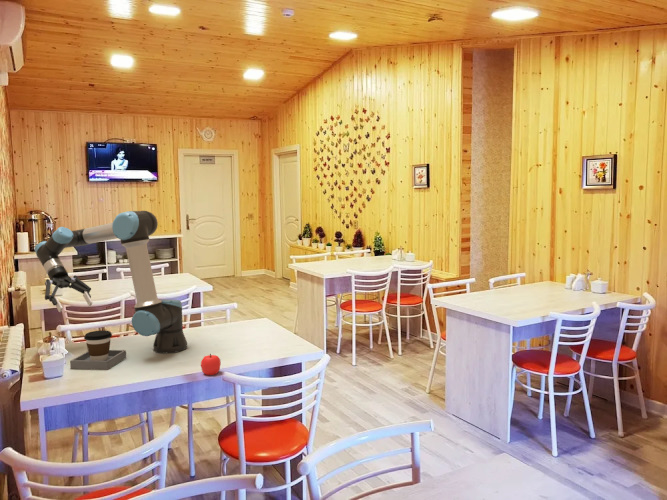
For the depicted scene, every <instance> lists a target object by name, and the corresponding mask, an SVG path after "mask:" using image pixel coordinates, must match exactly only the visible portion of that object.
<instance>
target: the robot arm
mask: <svg viewBox="0 0 667 500" xmlns="http://www.w3.org/2000/svg"><path fill="white" fill-rule="evenodd" d="M158 224H159V223H158V218H157V217H156V215H154V213H152V212H151V211H148V210H133V211H132V210H131V211H130V210H129V211H124V212H120V213H118V214H117V215H116V216H115V217H114V219H113V222H109V223H105V224H101V225H96V226H91V227H87V228H81V229H75V230H71V229H69V228H68V227H65V226H59V227H58V228H57V229H56V230H55V231H54V232H53V233H52V234H51V236H50V237H49V238H48V239H47V240H43V241H40V242H39V243H37V244H36V245H35V247H34V252H35V254H36V257H37V259H38V260H39V261H40V264H41V265H42V268H43V270H44V271H45V272H46V275H47V276H48V278H49V279H48V278H47V279H46V280H45V281H44V284H45V291H44V293H45V294H44V300H46V301H49V302H51V303H52V305H53V307H54V306H55V307H56V309H57V311H58V312H59V313H62V310H63V309H64V307H63V306H62V303H61V302H60V299H59V297H58V296H55V295H56V293H57V291H58V290H59V289H64V288H69V289H73V290H74V291H77V292H79V293H81V294H82V297H83V298H84V300H85V302H86V303H87V306H89V307H91V306H92V304H93V303H94V302H93V300H92V299H91V298H92V296H91V294H90V292H91V290H92V288H91V287H90V286H89V285H88V284H86V283H85V282H84V281H83V280H81V279H80V278H78V276H77V275H73V276H69V272H68V271H67V269H66V267H65V265H64V263H63V262H62V261H61V259H60V257H59V255H60V254H61V253H62V252H63V250H64V249H67V248H74V247H81V246H87V245H91V244H95V243H101V242H105V241H110V240H115V239H119V241H120V245H121V246H122V247H124V248H125V250H126V255H127V261H128V264H129V269H130V274H131V279H132V284H133V285H132V286H133V289H134V293H135V299H136V304H135V305H133V307H134V314H133V316H132V317H131V326H132V328H133V330H134V331H135V333H137V334H138V335H140V336H143V337H151V336H154V335H155V338H154V341H153V345H152V347H153V352H155V353H158V354H172V353H179V352H183V351H185V350H186V349H188V341H187V339H186V336H185V334H184V331H183V330H184V326H183V325H184V324H183V307H182V301H181V300H180V299H166V298H165V299H160V298H158V295H157V290H156V284H155V279H154V273H153V269H152V265H151V259H150V255H149V251H148V245H147V244H148V243H149V241H150V237H149V236H152V235H153V234H154V233H155V232H156V231H157V229H158V226H159V225H158ZM51 285H53V286H54V289H53V291H52V293H51ZM50 294H51V295H50Z"/></svg>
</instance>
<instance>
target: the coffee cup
mask: <svg viewBox="0 0 667 500" xmlns="http://www.w3.org/2000/svg"><path fill="white" fill-rule="evenodd" d="M84 334H85V335H84V337H83V339H84V340H85V341H86V347H87V350H88V352H89V355H90V359H91V361H107V359H108V354H109V350H111V349H110V347H111V337H112V336H113V333H112V332H111V331H110V330H107V329H106V330H94V331H90V332H87V333H84Z"/></svg>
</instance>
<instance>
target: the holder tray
mask: <svg viewBox="0 0 667 500" xmlns="http://www.w3.org/2000/svg"><path fill="white" fill-rule="evenodd" d="M125 359H127V351H126V350H125V349H109V354H108V359H107V361H91V359H90V355H89V352H88V351H86V352H84V353H82V354H79V355H78V356H77V357H74V358H73V359H71V360H69V365H70V366H69V368H70V370H92V371H93V370H96V371H97V370H98V371H99V370H101V371H102V370H103V371H108V370H110V369H111V368H113V367H115V366H116V365H118V364H119V363H122V361H124V360H125Z"/></svg>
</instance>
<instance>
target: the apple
mask: <svg viewBox="0 0 667 500" xmlns="http://www.w3.org/2000/svg"><path fill="white" fill-rule="evenodd" d="M200 367H201V372H202V373H203V374H204V375H207V376H213V375H217V374H218V373H219V372H220V369H221V359H220V357H219V356H218V355H215V354H211V353H210V354H209V355H204V356H203V358H202V360H201V362H200Z"/></svg>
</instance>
